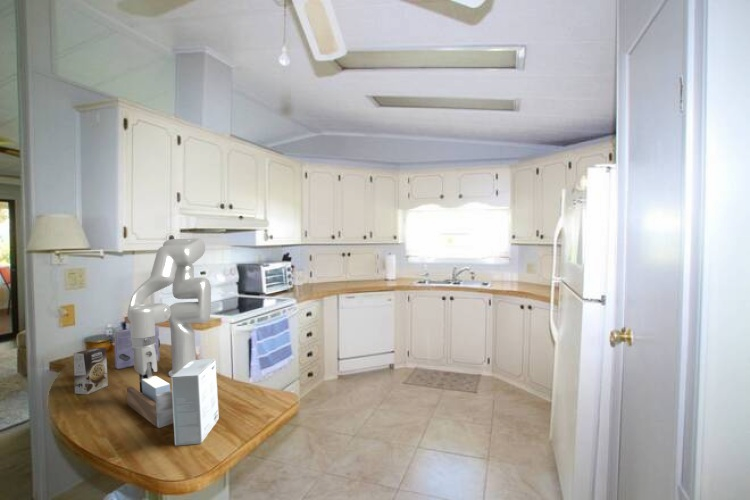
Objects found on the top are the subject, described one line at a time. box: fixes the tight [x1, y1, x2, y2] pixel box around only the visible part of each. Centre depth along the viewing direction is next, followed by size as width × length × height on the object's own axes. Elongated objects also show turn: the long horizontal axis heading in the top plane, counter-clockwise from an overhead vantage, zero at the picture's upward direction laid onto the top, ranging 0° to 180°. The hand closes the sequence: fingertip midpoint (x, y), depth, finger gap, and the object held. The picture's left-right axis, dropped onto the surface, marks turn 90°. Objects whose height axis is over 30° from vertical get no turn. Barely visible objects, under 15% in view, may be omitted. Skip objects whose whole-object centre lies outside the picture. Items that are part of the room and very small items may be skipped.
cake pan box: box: [114, 325, 161, 370], centre depth 187 cm, size 19×5×18 cm, turn 134°
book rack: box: [126, 386, 174, 429], centre depth 132 cm, size 9×30×10 cm, turn 49°
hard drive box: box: [170, 358, 220, 446], centre depth 115 cm, size 16×8×20 cm, turn 5°
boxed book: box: [142, 375, 171, 403], centre depth 132 cm, size 4×14×10 cm, turn 48°
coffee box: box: [73, 346, 109, 395], centre depth 154 cm, size 9×6×16 cm
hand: (145, 391), depth 138 cm, fingers closed
